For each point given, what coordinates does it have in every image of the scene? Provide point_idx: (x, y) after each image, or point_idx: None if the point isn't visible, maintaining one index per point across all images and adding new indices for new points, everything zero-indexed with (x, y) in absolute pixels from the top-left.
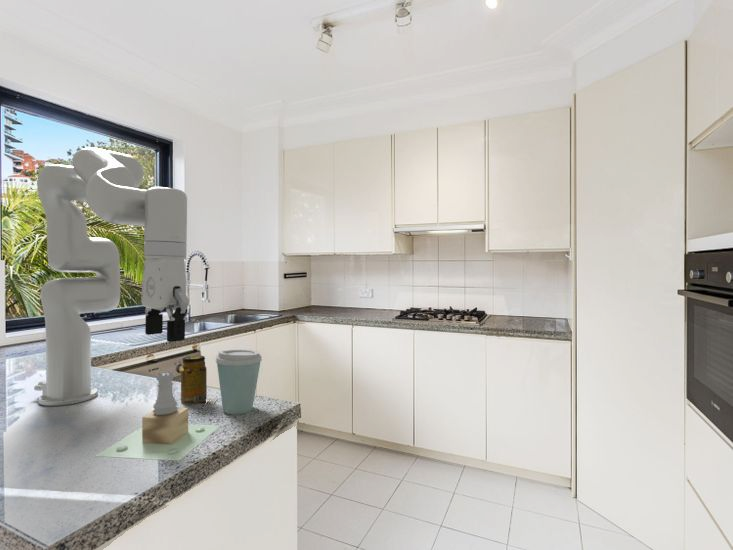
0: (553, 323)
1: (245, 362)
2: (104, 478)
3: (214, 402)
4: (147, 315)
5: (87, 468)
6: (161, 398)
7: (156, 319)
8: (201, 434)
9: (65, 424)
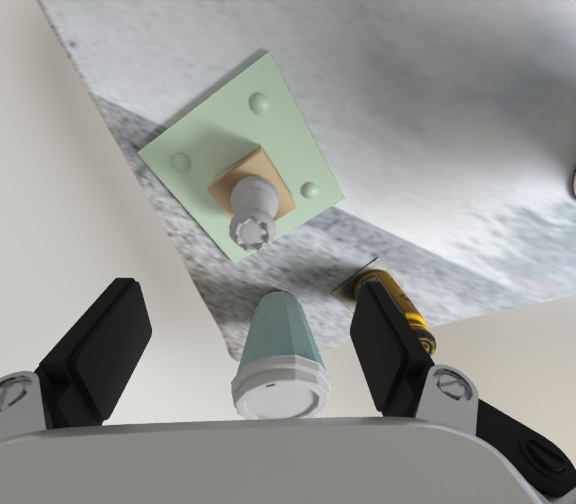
0: None
1: (233, 385)
2: (173, 28)
3: (347, 306)
4: (410, 362)
5: (243, 24)
6: (243, 197)
7: (377, 371)
8: (220, 228)
9: (498, 91)
